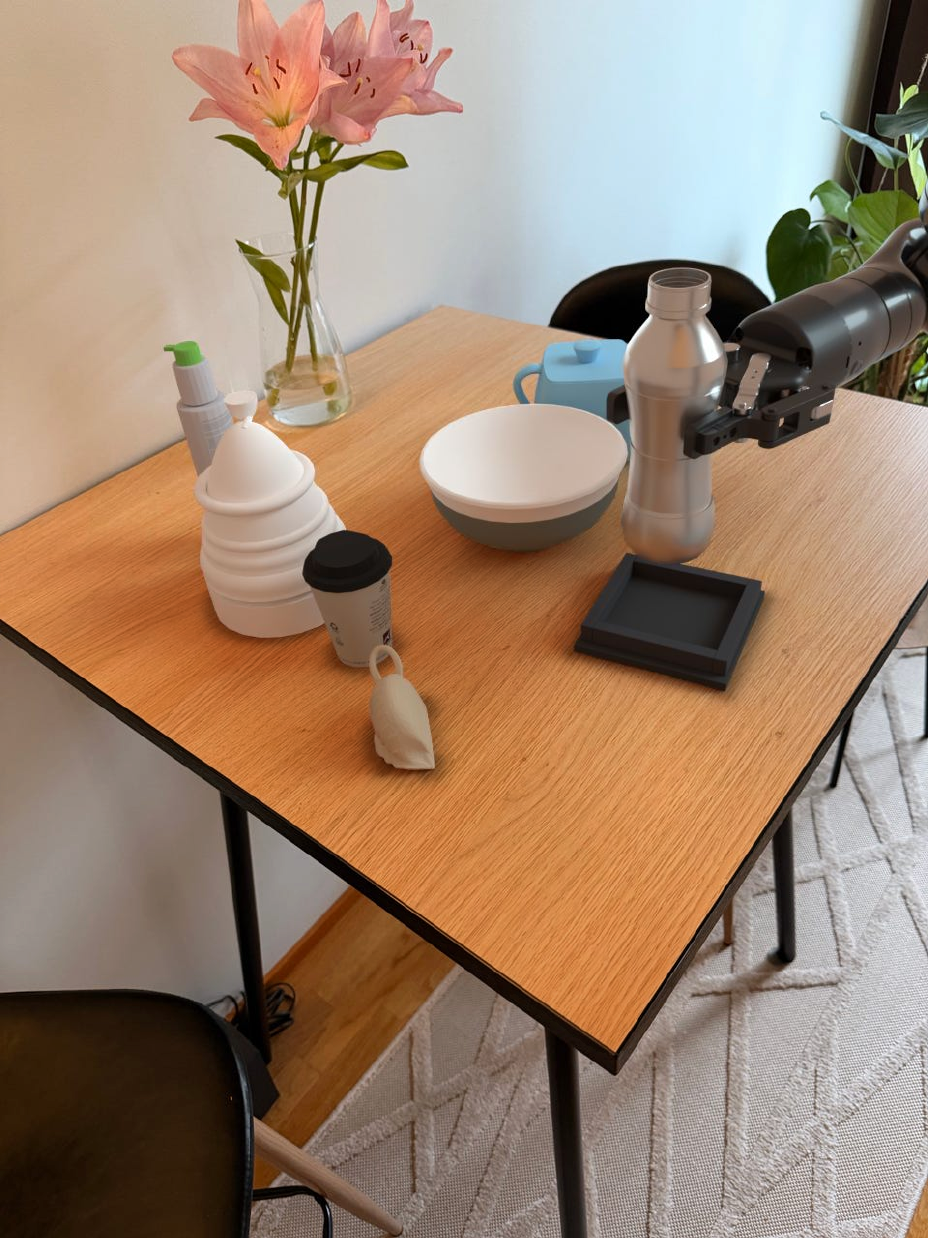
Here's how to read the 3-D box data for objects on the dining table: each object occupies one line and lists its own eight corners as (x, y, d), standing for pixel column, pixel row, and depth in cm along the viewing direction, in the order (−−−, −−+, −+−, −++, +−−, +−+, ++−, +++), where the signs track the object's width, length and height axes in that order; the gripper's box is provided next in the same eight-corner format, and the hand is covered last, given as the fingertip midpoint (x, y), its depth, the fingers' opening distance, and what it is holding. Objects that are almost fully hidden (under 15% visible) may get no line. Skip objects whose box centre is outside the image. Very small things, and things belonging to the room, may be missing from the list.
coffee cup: (421, 655, 73) (405, 554, 67) (343, 689, 71) (319, 588, 65) (384, 611, 78) (366, 513, 72) (310, 642, 76) (284, 543, 70)
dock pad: (764, 598, 75) (767, 576, 74) (725, 691, 67) (728, 668, 66) (625, 568, 80) (626, 546, 79) (573, 651, 72) (573, 629, 71)
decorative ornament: (377, 779, 64) (365, 726, 60) (373, 697, 70) (362, 645, 67) (434, 771, 64) (426, 718, 60) (425, 690, 70) (417, 638, 67)
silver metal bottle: (694, 585, 64) (716, 303, 51) (605, 562, 67) (605, 291, 54) (725, 537, 68) (753, 264, 55) (640, 517, 71) (648, 255, 58)
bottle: (241, 525, 91) (185, 332, 79) (274, 536, 89) (221, 339, 77) (210, 548, 88) (147, 351, 76) (243, 559, 86) (184, 359, 74)
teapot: (693, 470, 92) (702, 363, 84) (515, 478, 94) (509, 373, 86) (679, 414, 101) (686, 313, 94) (517, 422, 103) (512, 323, 96)
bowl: (656, 561, 80) (660, 480, 75) (450, 603, 78) (440, 523, 73) (588, 462, 95) (588, 389, 90) (413, 495, 93) (403, 422, 87)
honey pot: (224, 558, 87) (169, 382, 75) (358, 543, 87) (323, 364, 75) (204, 645, 77) (137, 457, 65) (355, 628, 77) (315, 437, 65)
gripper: (734, 272, 69) (570, 342, 61) (911, 318, 59) (741, 408, 52) (726, 366, 73) (573, 441, 66) (888, 422, 64) (730, 517, 57)
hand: (648, 426), depth 59 cm, fingers closed on silver metal bottle, 6 cm apart
